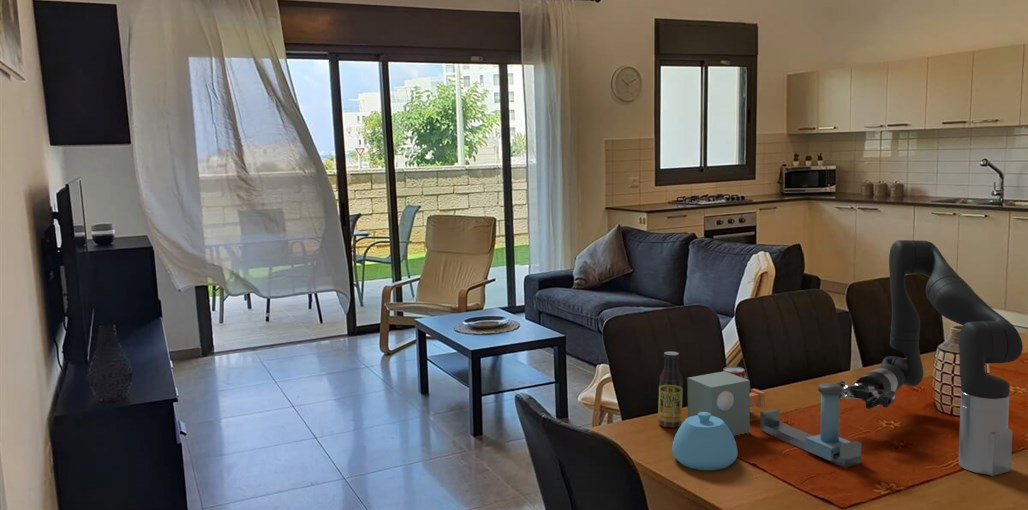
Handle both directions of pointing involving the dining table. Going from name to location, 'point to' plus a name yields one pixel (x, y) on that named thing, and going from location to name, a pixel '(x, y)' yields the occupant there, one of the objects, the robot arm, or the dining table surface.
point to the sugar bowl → (704, 443)
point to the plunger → (757, 398)
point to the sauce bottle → (670, 392)
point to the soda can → (736, 371)
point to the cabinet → (721, 399)
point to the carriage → (827, 424)
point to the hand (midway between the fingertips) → (849, 401)
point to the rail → (796, 437)
